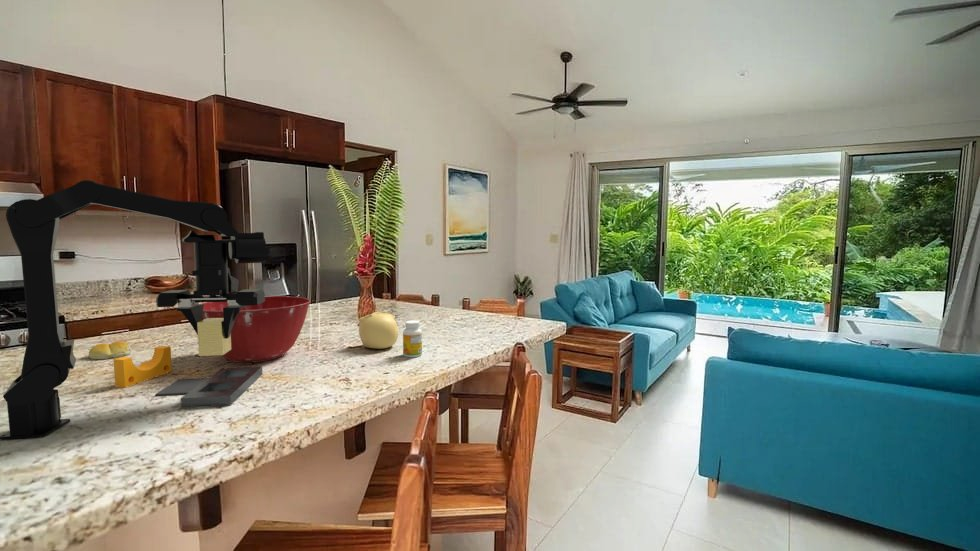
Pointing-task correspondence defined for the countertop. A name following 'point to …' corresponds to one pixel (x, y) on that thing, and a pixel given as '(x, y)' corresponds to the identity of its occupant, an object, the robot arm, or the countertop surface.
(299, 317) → the mixing bowl
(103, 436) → the countertop surface
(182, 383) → the mat
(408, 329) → the supplement bottle
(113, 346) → the bread roll
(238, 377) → the gray slotted plate
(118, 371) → the pipe clamp
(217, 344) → the pale yellow block
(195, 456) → the countertop surface
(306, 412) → the countertop surface
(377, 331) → the pale yellow melon
